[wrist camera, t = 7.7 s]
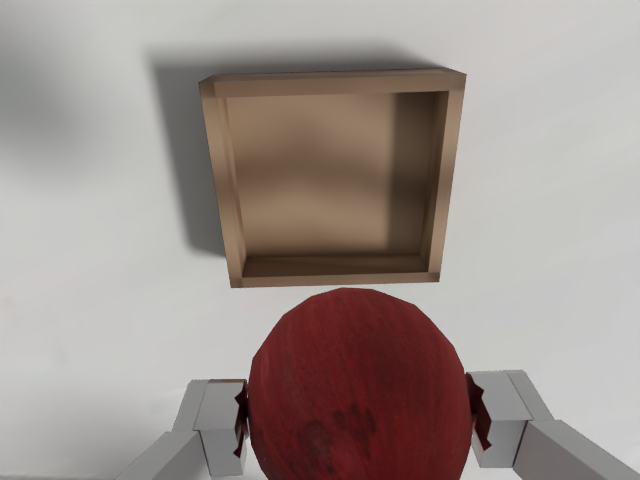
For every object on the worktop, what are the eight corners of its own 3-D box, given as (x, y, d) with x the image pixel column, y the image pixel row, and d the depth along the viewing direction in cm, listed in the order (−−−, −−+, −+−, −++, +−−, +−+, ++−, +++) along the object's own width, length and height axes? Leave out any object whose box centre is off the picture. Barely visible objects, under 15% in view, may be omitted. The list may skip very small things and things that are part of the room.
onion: (248, 378, 15) (245, 683, 8) (248, 240, 12) (242, 512, 5) (398, 370, 16) (512, 636, 9) (426, 240, 13) (617, 472, 6)
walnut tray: (426, 255, 30) (439, 282, 27) (239, 261, 30) (230, 287, 27) (447, 67, 24) (466, 74, 21) (213, 74, 24) (198, 82, 21)
